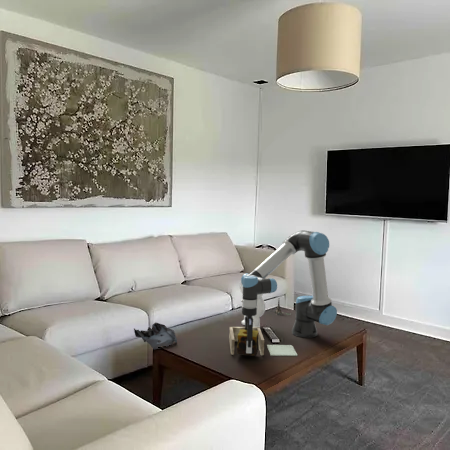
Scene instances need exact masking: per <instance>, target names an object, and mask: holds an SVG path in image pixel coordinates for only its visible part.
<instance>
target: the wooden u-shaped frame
mask: <svg viewBox="0 0 450 450" xmlns="http://www.w3.org/2000/svg"><path fill="white" fill-rule="evenodd" d="M244 328H245V326H229V332H228V333H229V335H228V336H229V337H228V341H229V349H230V354H231V355H233V356H235V342H238V334H239V332H240V329H243V330H245V329H244ZM253 330H255V331H259V333H258V344H259V346H258V351H259V354H260V356H264V355H265V339H264V335H263V333H262V330H261V326H260V327H253Z"/></svg>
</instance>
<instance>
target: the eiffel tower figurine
mask: <svg viewBox="0 0 450 450" xmlns="http://www.w3.org/2000/svg"><path fill="white" fill-rule="evenodd" d="M277 301H278V302H277V306H276V307H277V308H276V309H275V310H274V312H273V313H274V314H275V315H276V316H283V315H284V314H285V315H286V316H290V315H292V313H289V312H283V311H282V310H281V305H280V299H277Z"/></svg>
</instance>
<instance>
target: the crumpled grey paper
mask: <svg viewBox="0 0 450 450" xmlns="http://www.w3.org/2000/svg"><path fill="white" fill-rule="evenodd" d="M133 333H134V336H135V338H141V339H142V341H143V342H144V343H146V342H147V344H149V346H151V348H152V350H157V349H159V348H158V347H161V346H166V347H170V346H171V345H173V343H174V342H175V343H176V344H178V339H177V336H176V332H175V331H174V330H173V329H171V328H168V327H167V326H166V325H164V324H162V323H159V322H154V323H153V324H152V325H151V327H149V326H148V327H147V330H139V329H136V328H133ZM169 345H170V346H169Z"/></svg>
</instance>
